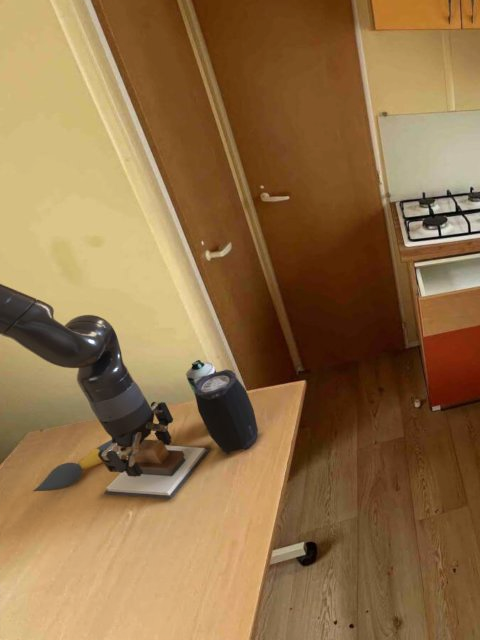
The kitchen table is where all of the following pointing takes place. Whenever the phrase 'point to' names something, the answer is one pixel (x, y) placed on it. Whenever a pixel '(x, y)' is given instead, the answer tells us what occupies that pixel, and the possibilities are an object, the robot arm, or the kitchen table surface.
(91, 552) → the kitchen table surface
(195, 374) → the spray can
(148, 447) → the two-tone stacked block
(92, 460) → the paintbrush
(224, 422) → the portable speaker
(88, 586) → the kitchen table surface
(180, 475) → the tile
